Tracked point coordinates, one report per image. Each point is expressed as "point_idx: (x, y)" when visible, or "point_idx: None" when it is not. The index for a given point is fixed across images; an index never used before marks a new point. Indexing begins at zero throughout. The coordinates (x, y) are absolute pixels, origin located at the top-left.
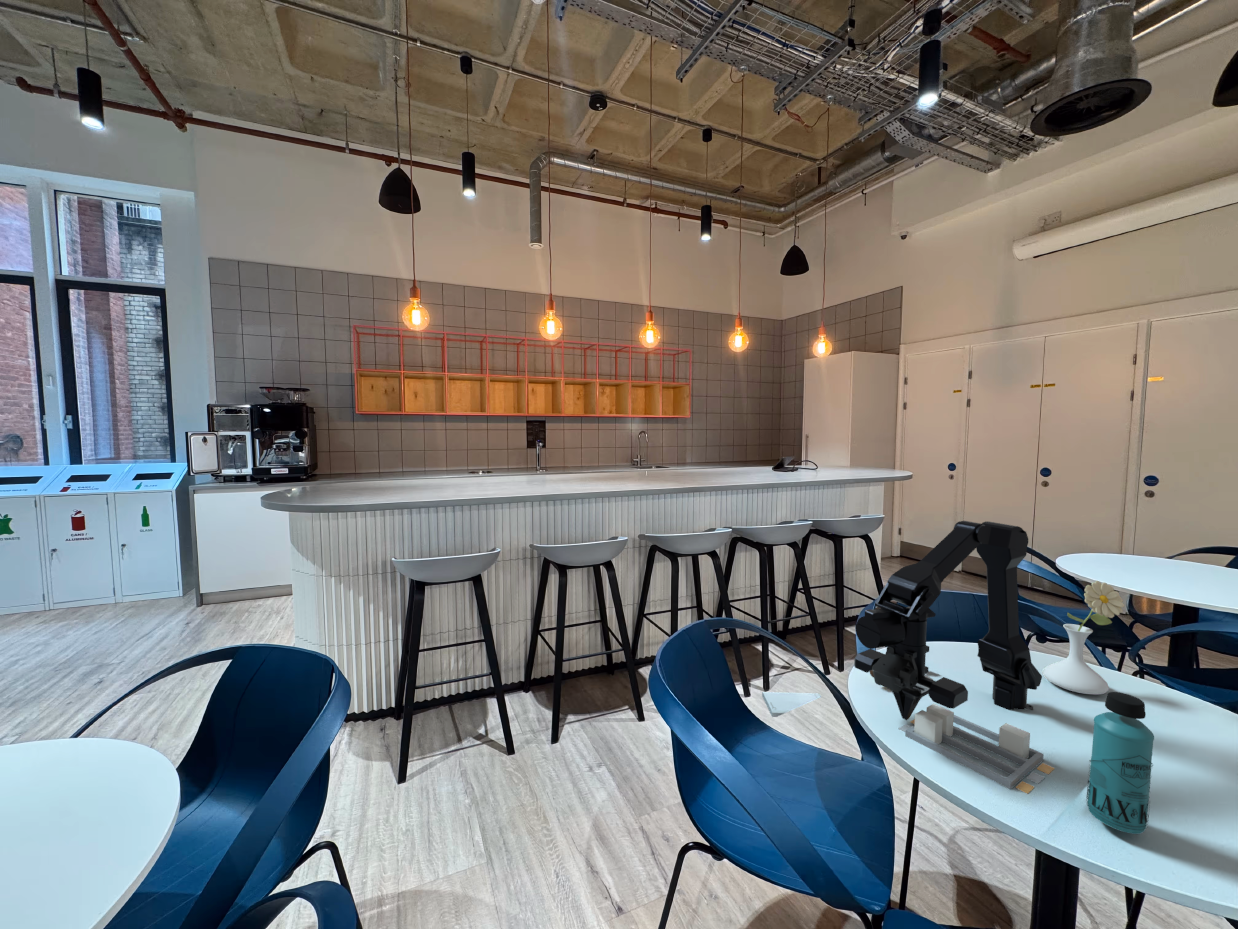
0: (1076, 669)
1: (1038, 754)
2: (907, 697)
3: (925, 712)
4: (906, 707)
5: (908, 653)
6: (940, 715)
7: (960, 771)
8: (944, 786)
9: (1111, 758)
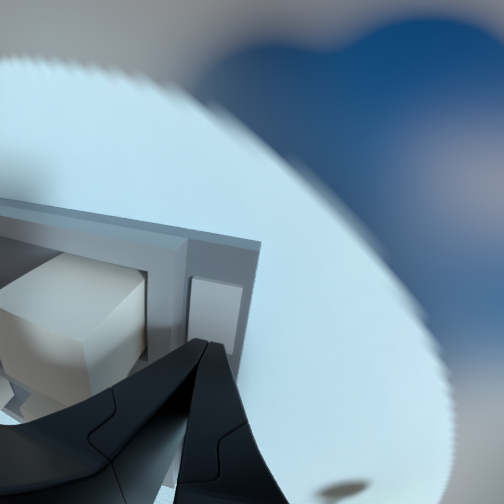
0: None
1: None
2: (76, 452)
3: (71, 399)
4: (150, 387)
5: None
6: (46, 414)
7: (7, 193)
8: (16, 61)
9: None
